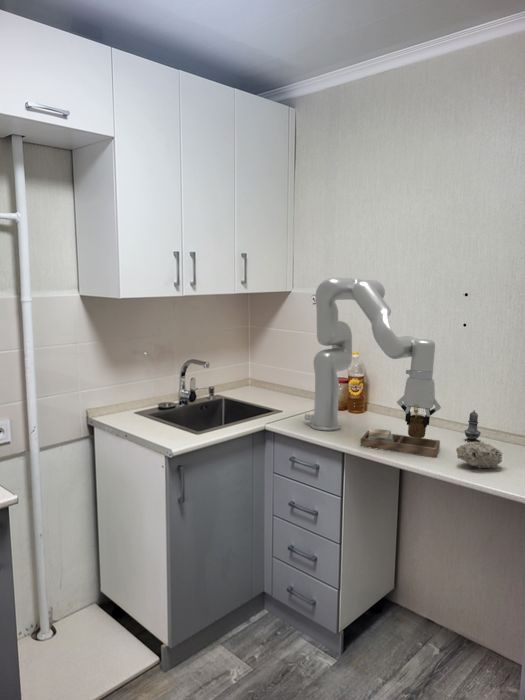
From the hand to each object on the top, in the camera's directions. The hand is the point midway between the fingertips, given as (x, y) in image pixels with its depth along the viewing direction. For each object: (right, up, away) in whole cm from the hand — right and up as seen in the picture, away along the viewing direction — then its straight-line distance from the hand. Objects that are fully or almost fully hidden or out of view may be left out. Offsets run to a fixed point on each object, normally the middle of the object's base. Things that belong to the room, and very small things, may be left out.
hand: (416, 424), depth 190 cm
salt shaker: (+24, -8, +13) cm, 29 cm away
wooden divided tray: (-5, -9, +3) cm, 10 cm away
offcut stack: (-12, -8, +6) cm, 16 cm away
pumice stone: (+15, -12, -14) cm, 24 cm away
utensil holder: (0, -4, +1) cm, 4 cm away
